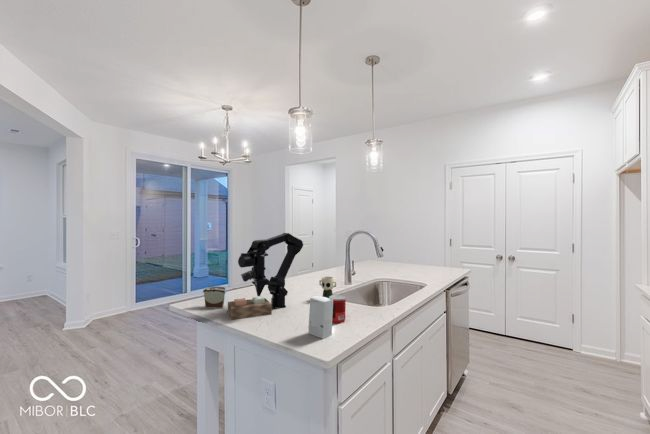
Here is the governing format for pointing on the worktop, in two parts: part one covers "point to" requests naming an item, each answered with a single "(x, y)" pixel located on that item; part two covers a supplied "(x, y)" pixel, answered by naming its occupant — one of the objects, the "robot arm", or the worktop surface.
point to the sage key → (258, 300)
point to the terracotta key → (239, 302)
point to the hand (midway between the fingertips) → (258, 296)
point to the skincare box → (320, 316)
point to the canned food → (338, 308)
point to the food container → (214, 297)
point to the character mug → (327, 286)
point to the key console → (249, 309)
